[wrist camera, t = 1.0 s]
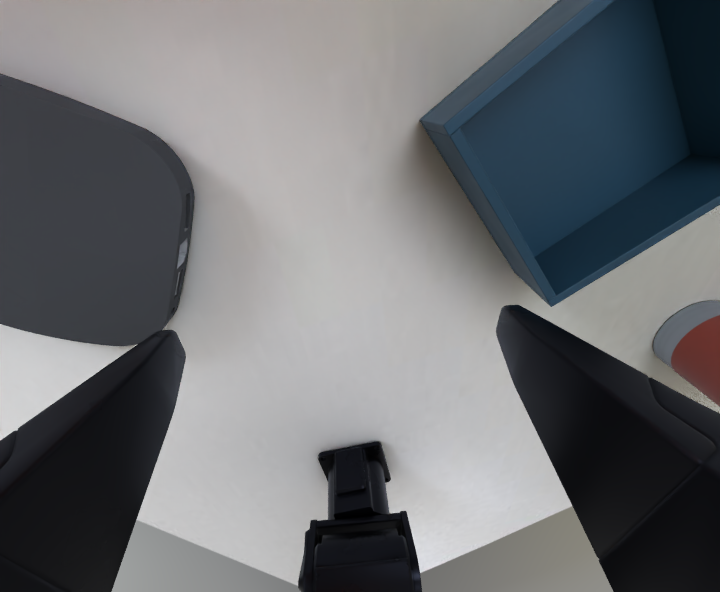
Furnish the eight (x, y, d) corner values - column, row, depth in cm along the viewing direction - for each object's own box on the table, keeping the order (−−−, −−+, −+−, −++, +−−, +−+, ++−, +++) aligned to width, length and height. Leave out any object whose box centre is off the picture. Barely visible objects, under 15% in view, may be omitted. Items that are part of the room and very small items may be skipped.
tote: (694, 154, 22) (782, 167, 18) (514, 272, 26) (551, 307, 21) (640, -70, 17) (749, -130, 12) (418, 120, 20) (442, 125, 16)
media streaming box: (-106, 31, 16) (-188, 18, 14) (207, 147, 20) (188, 154, 17) (-54, 283, 23) (-103, 306, 20) (176, 338, 26) (159, 364, 24)
